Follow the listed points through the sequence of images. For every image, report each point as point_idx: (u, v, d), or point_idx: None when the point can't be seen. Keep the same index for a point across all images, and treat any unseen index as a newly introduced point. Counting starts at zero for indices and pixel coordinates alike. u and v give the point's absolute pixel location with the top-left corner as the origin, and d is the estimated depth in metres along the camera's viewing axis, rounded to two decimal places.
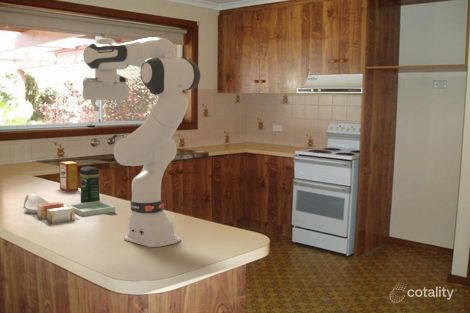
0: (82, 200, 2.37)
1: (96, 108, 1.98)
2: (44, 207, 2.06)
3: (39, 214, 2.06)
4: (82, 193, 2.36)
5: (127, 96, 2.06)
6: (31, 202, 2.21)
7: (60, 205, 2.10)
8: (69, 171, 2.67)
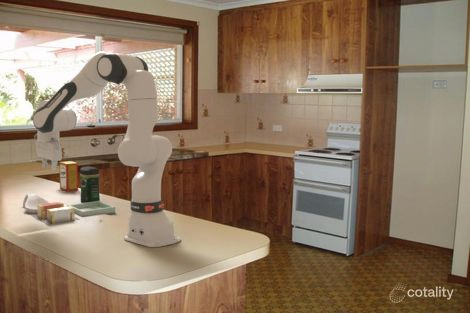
0: (82, 200, 2.37)
1: (55, 167, 2.04)
2: (44, 207, 2.06)
3: (39, 214, 2.06)
4: (82, 193, 2.36)
5: None
6: (31, 202, 2.21)
7: (60, 205, 2.10)
8: (69, 171, 2.67)
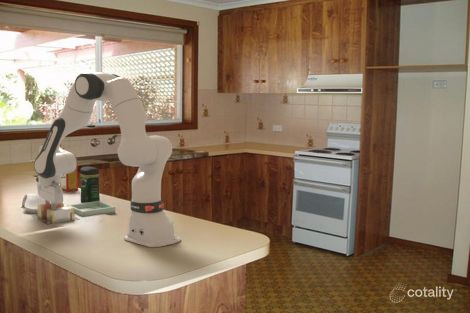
0: (82, 200, 2.37)
1: None
2: (44, 207, 2.06)
3: (39, 214, 2.06)
4: (82, 193, 2.36)
5: None
6: (30, 201, 2.21)
7: (60, 205, 2.10)
8: None
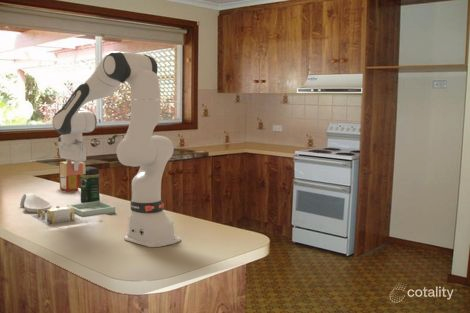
0: (82, 200, 2.37)
1: None
2: (67, 165, 2.09)
3: (62, 173, 2.10)
4: (82, 193, 2.36)
5: None
6: (29, 201, 2.22)
7: (82, 164, 2.14)
8: None
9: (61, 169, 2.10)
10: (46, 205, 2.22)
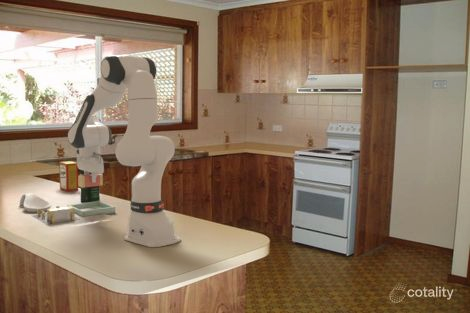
0: (82, 200, 2.37)
1: None
2: (85, 177, 2.15)
3: (80, 184, 2.16)
4: (82, 193, 2.36)
5: None
6: (29, 201, 2.22)
7: (99, 176, 2.20)
8: (69, 171, 2.67)
9: (79, 181, 2.16)
10: (46, 205, 2.23)
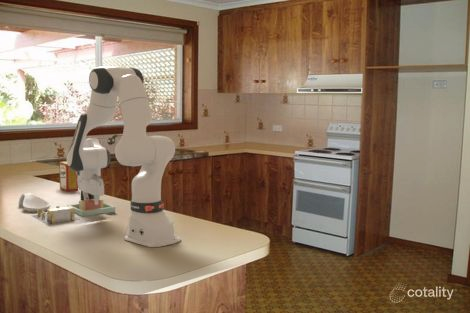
0: None
1: None
2: (86, 203, 2.16)
3: (81, 209, 2.17)
4: (82, 193, 2.36)
5: None
6: (28, 201, 2.22)
7: (100, 201, 2.21)
8: (69, 171, 2.67)
9: (80, 206, 2.17)
10: (45, 205, 2.23)
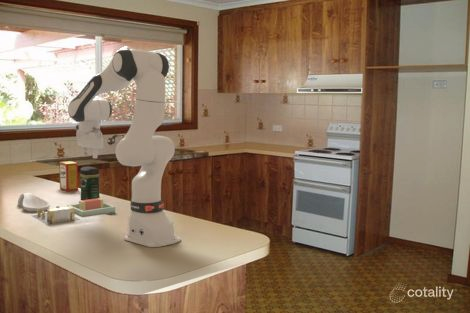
0: None
1: None
2: (86, 203, 2.16)
3: (81, 209, 2.17)
4: (82, 193, 2.36)
5: None
6: (27, 201, 2.23)
7: (100, 201, 2.21)
8: (69, 171, 2.67)
9: (80, 206, 2.17)
10: (44, 204, 2.24)
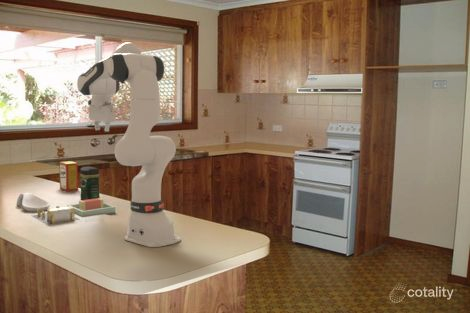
0: None
1: None
2: (86, 203, 2.16)
3: (81, 209, 2.17)
4: (82, 193, 2.36)
5: None
6: (27, 201, 2.23)
7: (100, 201, 2.21)
8: (69, 171, 2.67)
9: (80, 206, 2.17)
10: (44, 204, 2.24)
